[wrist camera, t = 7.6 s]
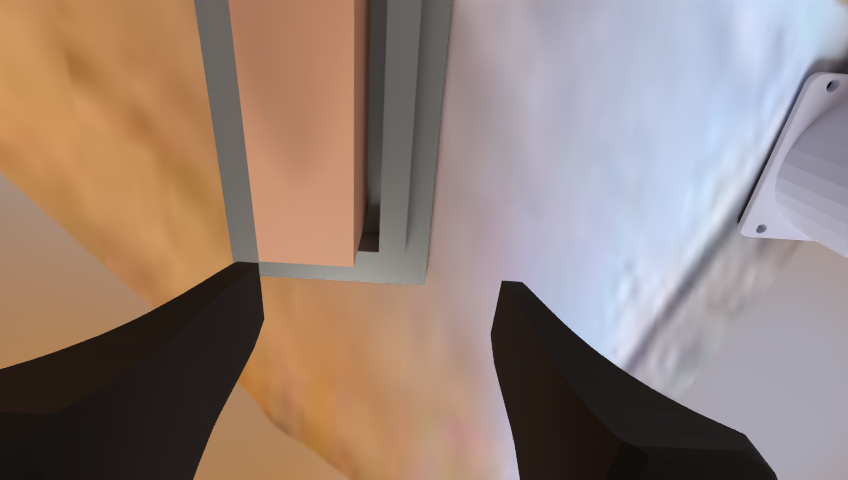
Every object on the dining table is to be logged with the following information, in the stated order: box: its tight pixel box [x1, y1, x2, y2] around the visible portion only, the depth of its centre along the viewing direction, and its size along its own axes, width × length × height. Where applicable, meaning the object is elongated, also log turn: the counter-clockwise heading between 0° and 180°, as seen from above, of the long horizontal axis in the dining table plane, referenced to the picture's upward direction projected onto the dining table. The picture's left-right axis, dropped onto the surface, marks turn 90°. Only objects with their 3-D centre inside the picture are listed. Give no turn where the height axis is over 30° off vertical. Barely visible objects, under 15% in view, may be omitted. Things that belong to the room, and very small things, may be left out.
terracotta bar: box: [228, 0, 371, 267], centre depth 16 cm, size 4×10×5 cm, turn 175°
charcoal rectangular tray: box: [194, 0, 452, 285], centre depth 18 cm, size 10×18×3 cm, turn 175°
